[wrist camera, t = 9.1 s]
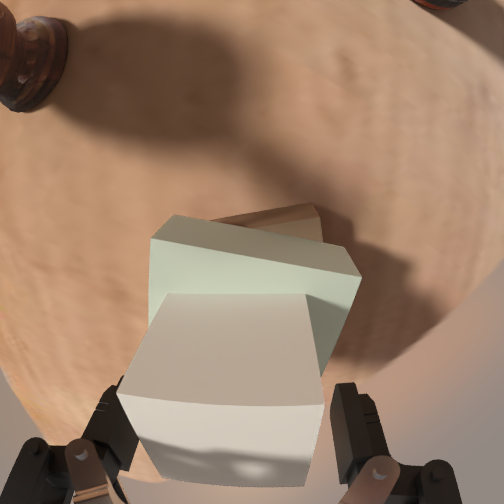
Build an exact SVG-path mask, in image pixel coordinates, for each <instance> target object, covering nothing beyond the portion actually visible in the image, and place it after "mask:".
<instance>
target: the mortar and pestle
mask: <svg viewBox="0 0 504 504" xmlns="http://www.w3.org/2000/svg"><path fill="white" fill-rule="evenodd" d="M66 55H67V34H66V31H65V28H64V26H63V25H62V24H61V23H60V22H59V21H57V20H56V19H53V18H49V17H43V16H35V17H31V18H27V19H25V20H22V21H20V22H19V23H18V24H16V21H15V18H14V16H13V14H12V13H11V12H10V10H9V9H8V8H7V7H6V6H5V5H4V4H3V3H1V2H0V102H1V103H2V104H3V105H5V106H6V107H7V108H9V109H10V110H11V111H14V112H17V113H19V112H25V111H27V110H29V109H31V108H33V107H34V106H35V105H37V104H38V103H39V102H41V101H42V100H43V99H44V98H45V97H46V96H47V95H48V94H49V93H50V92H51V90H52V89H53V87H54V86H55V85H56V83H57V82H58V80H59V78H60V76H61V74H62V71H63V68H64V64H65V60H66Z"/></svg>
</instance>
